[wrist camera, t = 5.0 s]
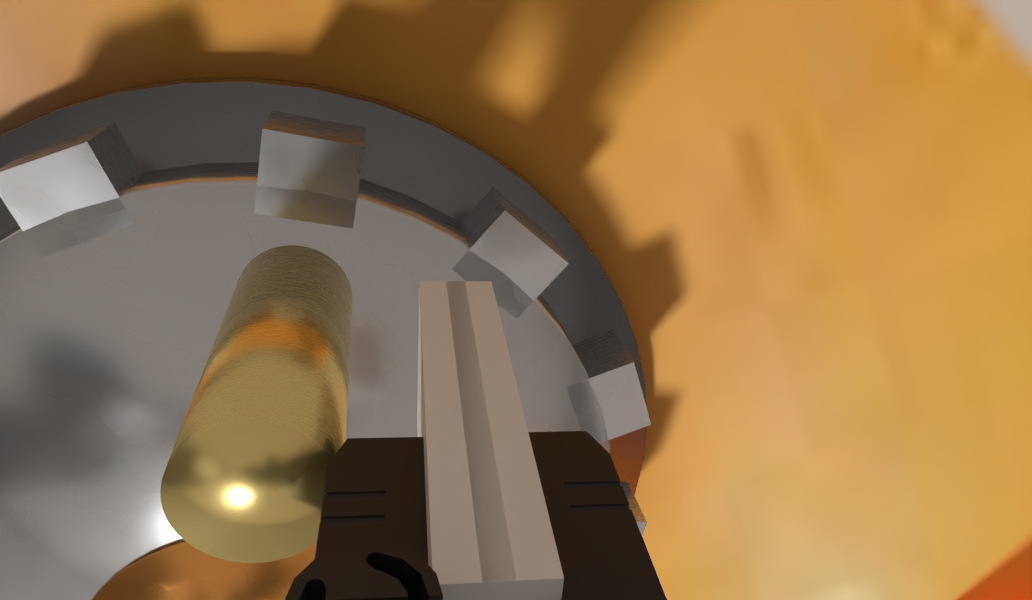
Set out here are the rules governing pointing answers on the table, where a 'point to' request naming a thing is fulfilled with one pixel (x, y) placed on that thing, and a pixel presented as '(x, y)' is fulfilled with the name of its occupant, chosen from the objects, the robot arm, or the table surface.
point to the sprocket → (237, 355)
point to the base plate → (387, 162)
